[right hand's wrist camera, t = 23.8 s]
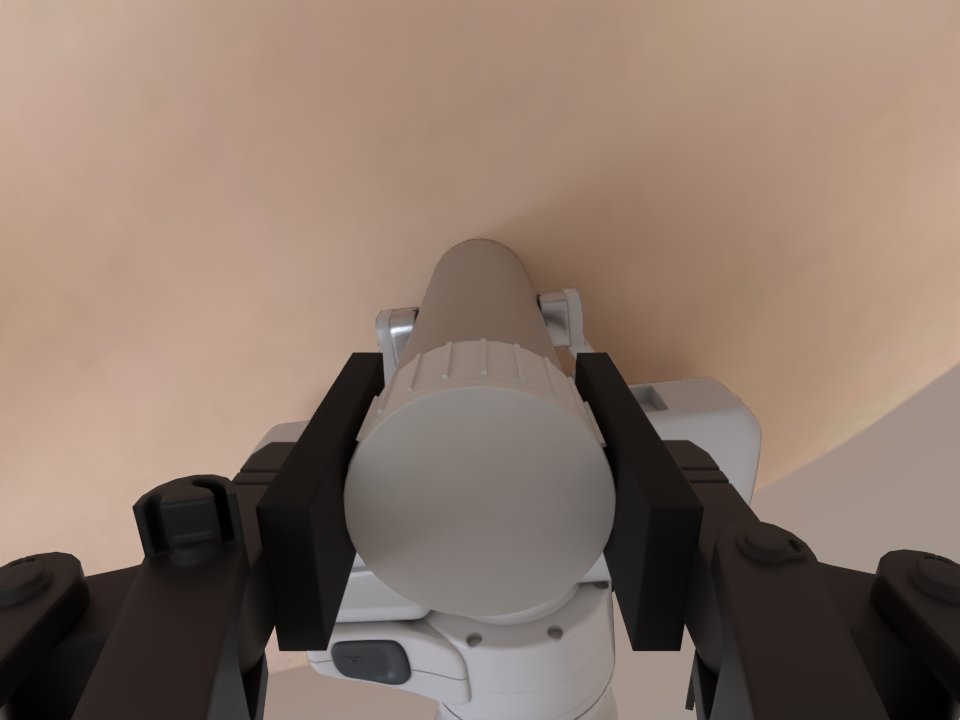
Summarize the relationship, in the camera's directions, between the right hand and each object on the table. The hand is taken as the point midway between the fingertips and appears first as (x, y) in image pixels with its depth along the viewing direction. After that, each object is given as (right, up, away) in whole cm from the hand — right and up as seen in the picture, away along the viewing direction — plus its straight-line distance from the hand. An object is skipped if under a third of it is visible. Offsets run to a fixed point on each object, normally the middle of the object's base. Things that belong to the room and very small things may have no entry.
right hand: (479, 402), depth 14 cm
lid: (0, -2, -4) cm, 4 cm away
